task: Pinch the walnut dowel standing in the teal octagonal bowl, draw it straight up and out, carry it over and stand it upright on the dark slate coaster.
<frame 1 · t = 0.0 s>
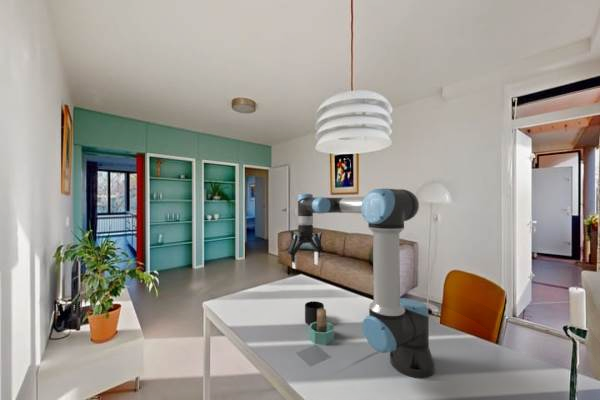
hand: (305, 266, 128), 28 cm above the table, fingers open, 13 cm apart
coaster: (313, 356, 99), on the table
teal octagonal bowl: (321, 339, 111), on the table
dowel: (321, 337, 111), point 1 cm above the table, touching teal octagonal bowl
mug: (316, 324, 126), on the table
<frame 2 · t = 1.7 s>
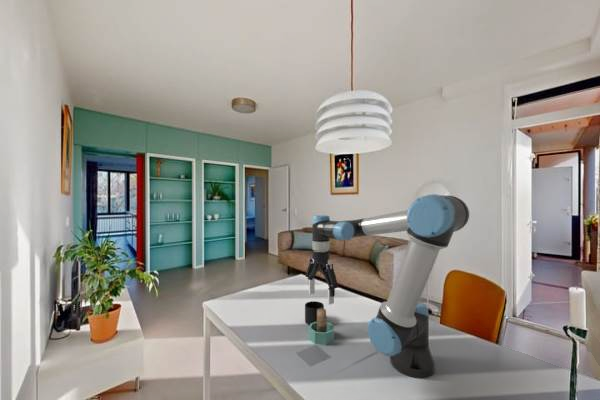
hand: (320, 298, 112), 18 cm above the table, fingers open, 13 cm apart
nothing on the table moved.
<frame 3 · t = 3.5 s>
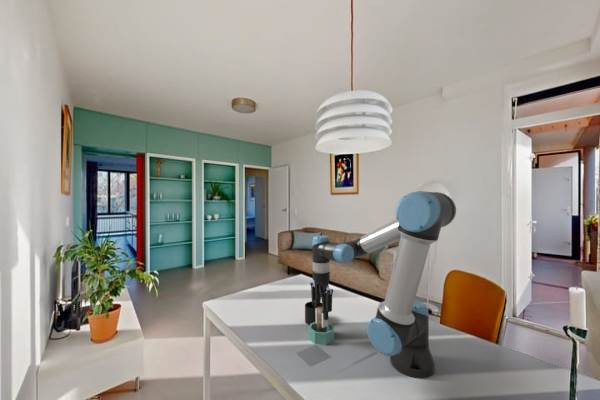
hand: (321, 324, 111), 7 cm above the table, fingers closed on dowel, 4 cm apart
dowel: (321, 335, 111), point 2 cm above the table, touching gripper
everything else where it was.
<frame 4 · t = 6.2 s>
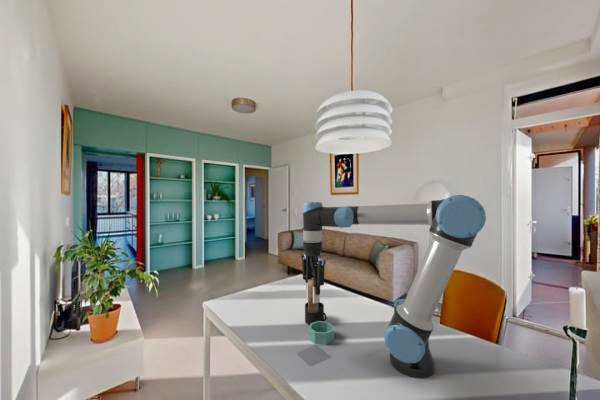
hand: (313, 300, 99), 22 cm above the table, fingers closed on dowel, 4 cm apart
dowel: (313, 310, 99), point 18 cm above the table, touching gripper
everything else where it was.
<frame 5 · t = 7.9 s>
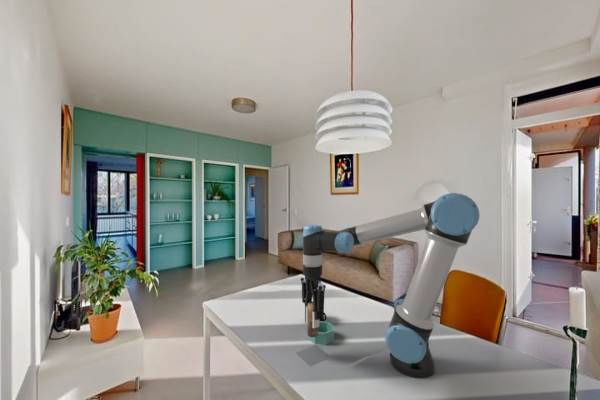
hand: (312, 324, 99), 12 cm above the table, fingers closed on dowel, 4 cm apart
dowel: (312, 334, 99), point 9 cm above the table, touching gripper
everything else where it was.
when the fingers open (7 cm above the table, at t = 9.1 s): dowel drops 3 cm, resting on coaster.
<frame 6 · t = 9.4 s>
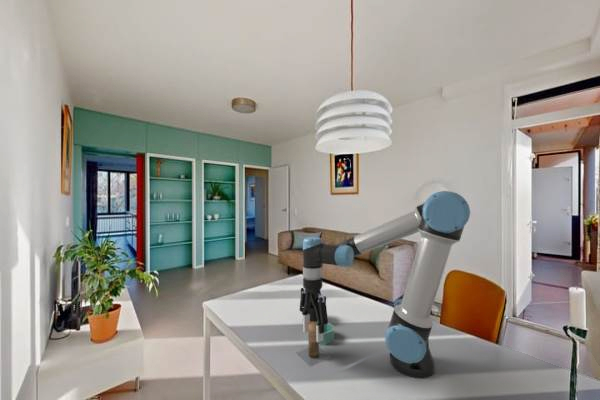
hand: (313, 335, 99), 8 cm above the table, fingers open, 8 cm apart
dowel: (313, 355, 98), point 1 cm above the table, touching coaster
everything else where it was.
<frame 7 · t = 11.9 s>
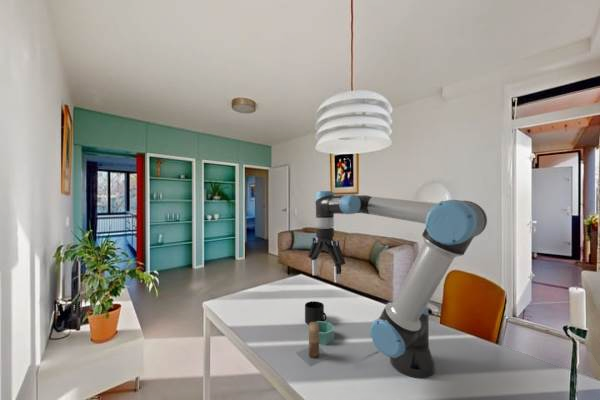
hand: (325, 278, 107), 28 cm above the table, fingers open, 13 cm apart
nothing on the table moved.
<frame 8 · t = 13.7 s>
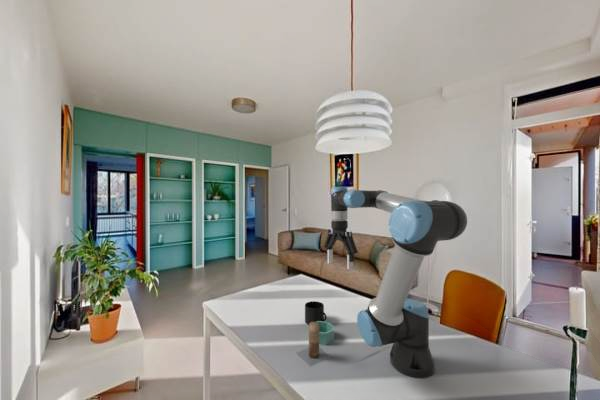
hand: (339, 265, 118), 31 cm above the table, fingers open, 13 cm apart
nothing on the table moved.
at the end: dowel inside the target area on the coaster (0.4 cm from its centre), point 0.8 cm above the coaster's base; dowel tilted 1°; the gripper is holding nothing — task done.
